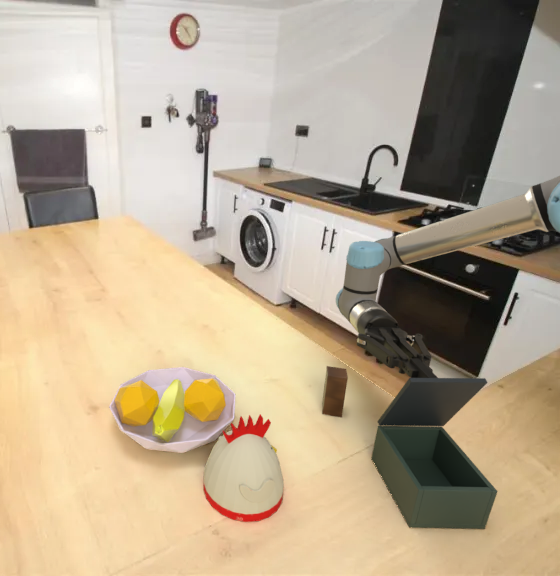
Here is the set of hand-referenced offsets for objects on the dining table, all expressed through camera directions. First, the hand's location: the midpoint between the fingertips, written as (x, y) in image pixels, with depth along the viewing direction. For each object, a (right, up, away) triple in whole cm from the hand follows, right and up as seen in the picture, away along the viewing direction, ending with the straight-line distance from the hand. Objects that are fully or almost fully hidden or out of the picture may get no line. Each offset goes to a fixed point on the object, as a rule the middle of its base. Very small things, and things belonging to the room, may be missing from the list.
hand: (432, 385), depth 68 cm
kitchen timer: (-31, -19, +4) cm, 37 cm away
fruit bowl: (-44, -14, +20) cm, 50 cm away
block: (-8, -11, +24) cm, 28 cm away
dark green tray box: (0, -19, +3) cm, 19 cm away
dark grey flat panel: (0, -4, +1) cm, 4 cm away
